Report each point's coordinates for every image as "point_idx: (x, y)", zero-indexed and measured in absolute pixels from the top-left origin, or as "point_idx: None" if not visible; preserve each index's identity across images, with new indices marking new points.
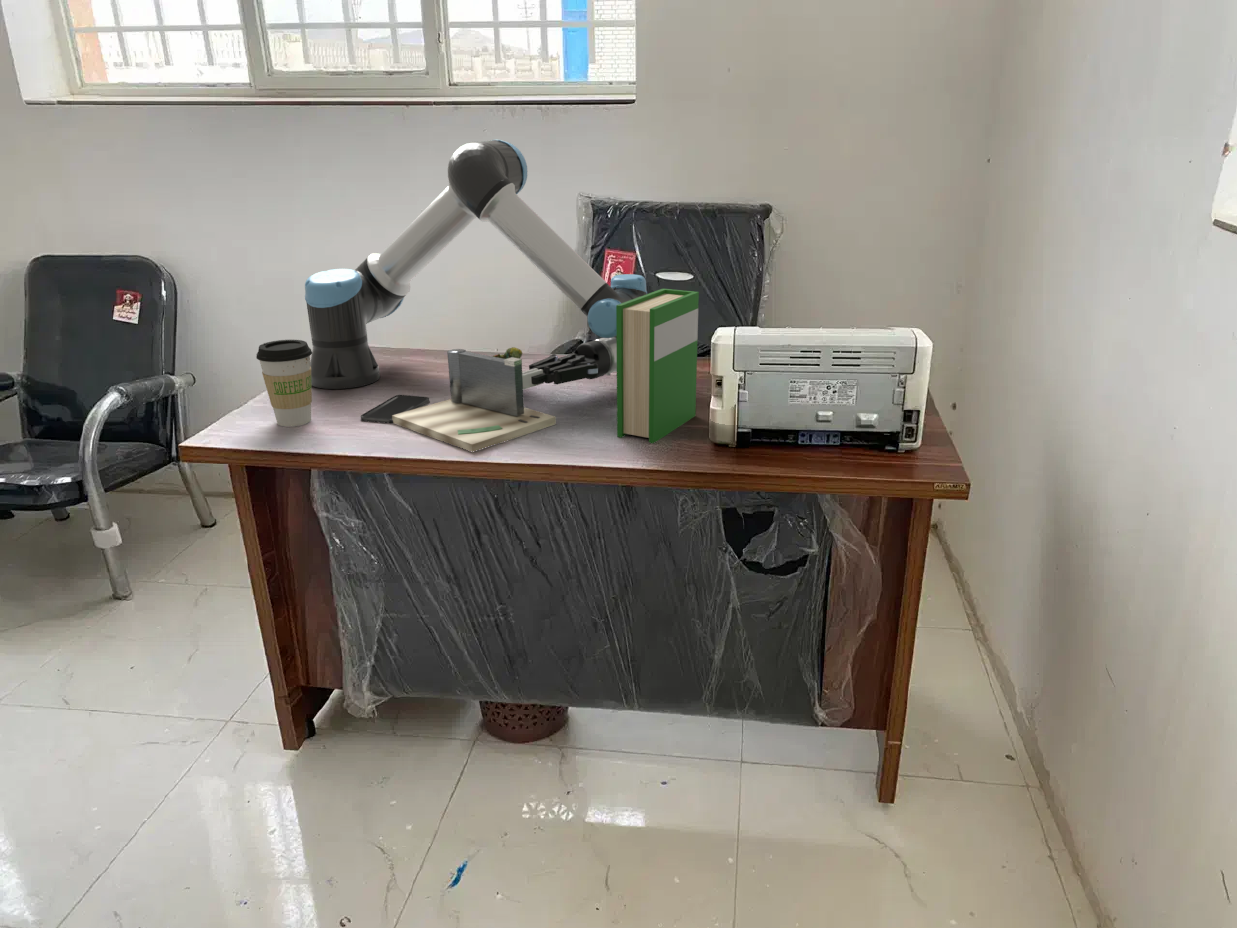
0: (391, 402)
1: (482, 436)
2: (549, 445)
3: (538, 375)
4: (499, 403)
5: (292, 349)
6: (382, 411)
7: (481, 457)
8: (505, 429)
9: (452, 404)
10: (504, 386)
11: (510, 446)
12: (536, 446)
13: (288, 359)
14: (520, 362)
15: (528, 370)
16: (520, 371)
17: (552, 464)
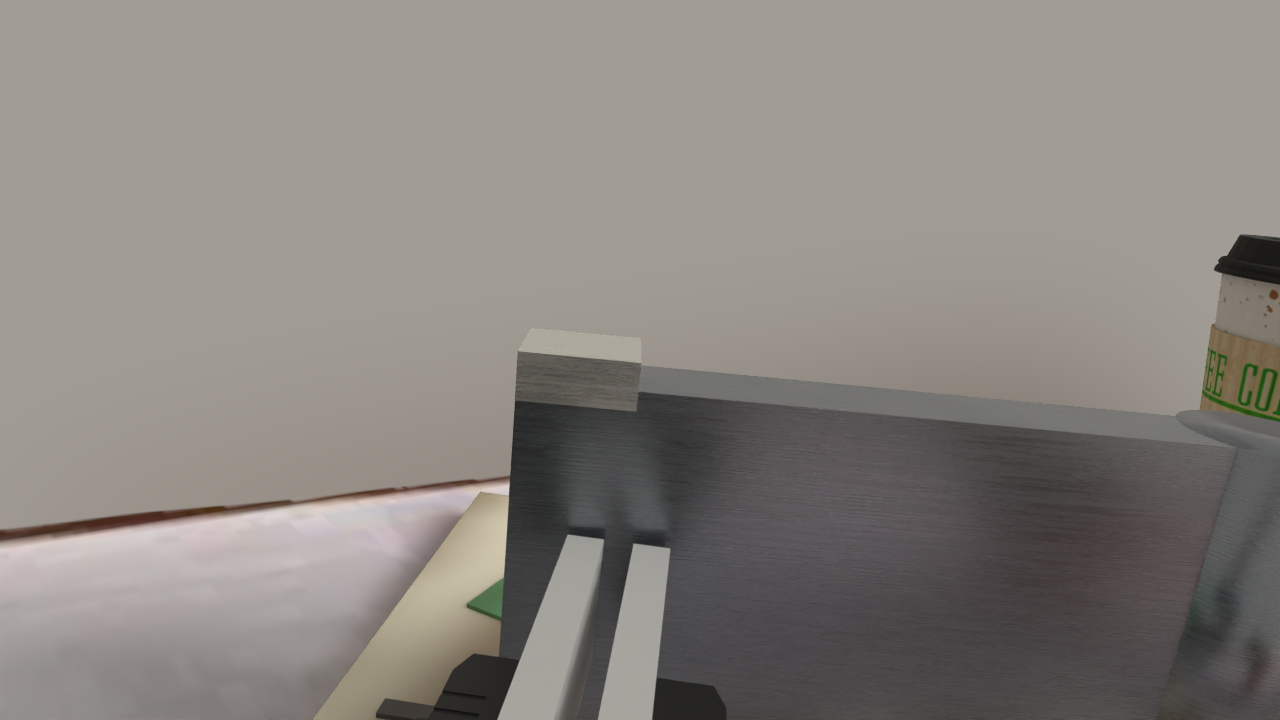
0: None
1: (497, 537)
2: (136, 652)
3: (479, 712)
4: None
5: (1247, 238)
6: None
7: (417, 511)
8: (447, 608)
9: None
10: None
11: (356, 592)
12: (214, 625)
13: (1218, 265)
14: (520, 374)
15: (642, 684)
16: (514, 451)
17: (71, 534)
